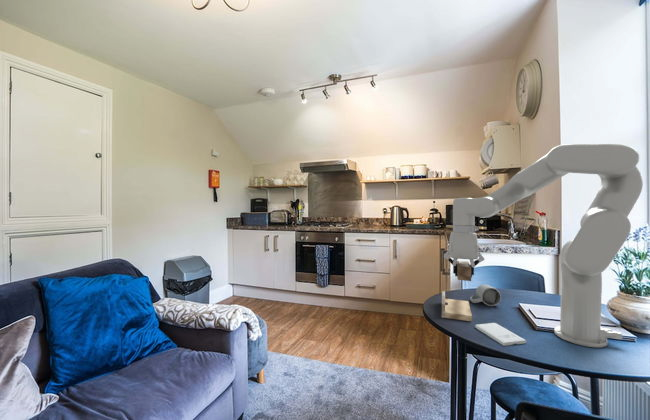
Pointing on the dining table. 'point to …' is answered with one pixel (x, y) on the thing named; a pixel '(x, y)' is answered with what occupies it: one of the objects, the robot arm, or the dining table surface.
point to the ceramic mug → (486, 295)
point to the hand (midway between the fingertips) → (463, 275)
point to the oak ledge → (455, 309)
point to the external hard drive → (500, 334)
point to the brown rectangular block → (463, 270)
